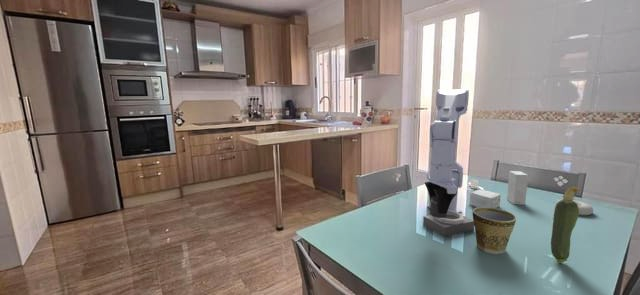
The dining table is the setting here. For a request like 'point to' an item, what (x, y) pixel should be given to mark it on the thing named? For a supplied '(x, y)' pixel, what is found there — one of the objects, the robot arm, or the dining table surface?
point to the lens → (435, 208)
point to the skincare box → (517, 187)
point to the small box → (484, 199)
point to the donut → (583, 208)
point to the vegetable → (564, 225)
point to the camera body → (449, 223)
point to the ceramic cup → (493, 228)
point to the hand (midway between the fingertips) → (438, 209)
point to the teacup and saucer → (473, 185)
